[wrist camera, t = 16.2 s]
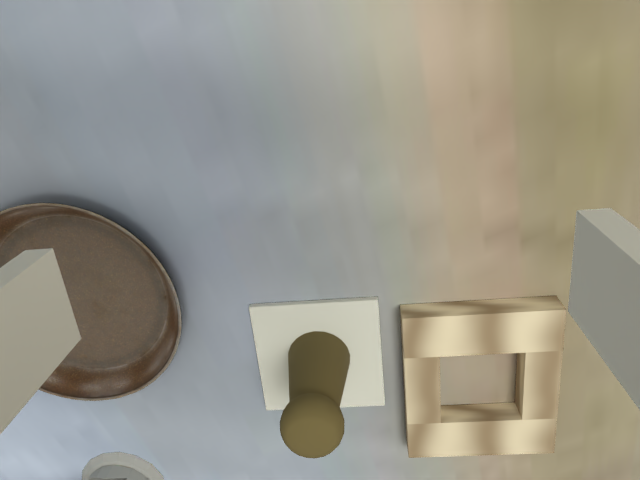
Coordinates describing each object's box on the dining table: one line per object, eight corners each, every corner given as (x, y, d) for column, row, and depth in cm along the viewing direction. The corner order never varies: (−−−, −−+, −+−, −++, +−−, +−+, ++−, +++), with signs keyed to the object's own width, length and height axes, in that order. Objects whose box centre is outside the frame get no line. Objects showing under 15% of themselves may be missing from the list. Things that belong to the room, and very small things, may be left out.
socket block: (406, 439, 56) (408, 457, 53) (399, 304, 50) (402, 318, 47) (545, 434, 54) (554, 452, 52) (556, 295, 48) (566, 309, 46)
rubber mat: (267, 406, 55) (266, 410, 55) (250, 304, 51) (248, 307, 50) (384, 401, 54) (384, 405, 53) (377, 296, 49) (377, 299, 49)
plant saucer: (214, 370, 54) (205, 391, 51) (26, 392, 57) (7, 413, 54) (154, 174, 46) (140, 185, 43) (-60, 210, 49) (-88, 223, 46)
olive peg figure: (344, 388, 53) (342, 476, 43) (283, 377, 53) (267, 463, 43) (355, 337, 51) (356, 417, 40) (292, 326, 50) (277, 404, 40)
